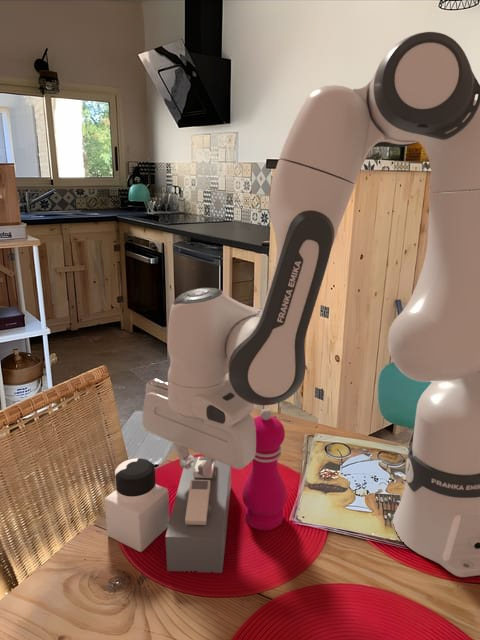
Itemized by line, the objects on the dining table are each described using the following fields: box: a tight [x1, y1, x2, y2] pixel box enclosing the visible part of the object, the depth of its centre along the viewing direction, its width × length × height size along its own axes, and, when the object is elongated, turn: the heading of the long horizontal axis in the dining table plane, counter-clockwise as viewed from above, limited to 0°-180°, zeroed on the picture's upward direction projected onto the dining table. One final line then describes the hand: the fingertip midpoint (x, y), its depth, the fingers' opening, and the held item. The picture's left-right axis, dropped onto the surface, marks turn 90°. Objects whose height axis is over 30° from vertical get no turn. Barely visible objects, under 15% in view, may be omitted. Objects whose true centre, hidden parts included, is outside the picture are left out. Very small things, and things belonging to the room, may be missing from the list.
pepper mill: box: [242, 408, 287, 531], centre depth 80 cm, size 7×7×20 cm
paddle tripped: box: [193, 456, 216, 478], centre depth 83 cm, size 3×7×1 cm, turn 178°
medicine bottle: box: [104, 457, 170, 553], centre depth 78 cm, size 7×7×12 cm
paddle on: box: [185, 480, 210, 525], centre depth 75 cm, size 3×7×1 cm, turn 177°
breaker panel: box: [164, 457, 232, 574], centre depth 80 cm, size 8×20×7 cm, turn 178°
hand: (195, 470), depth 81 cm, fingers closed
